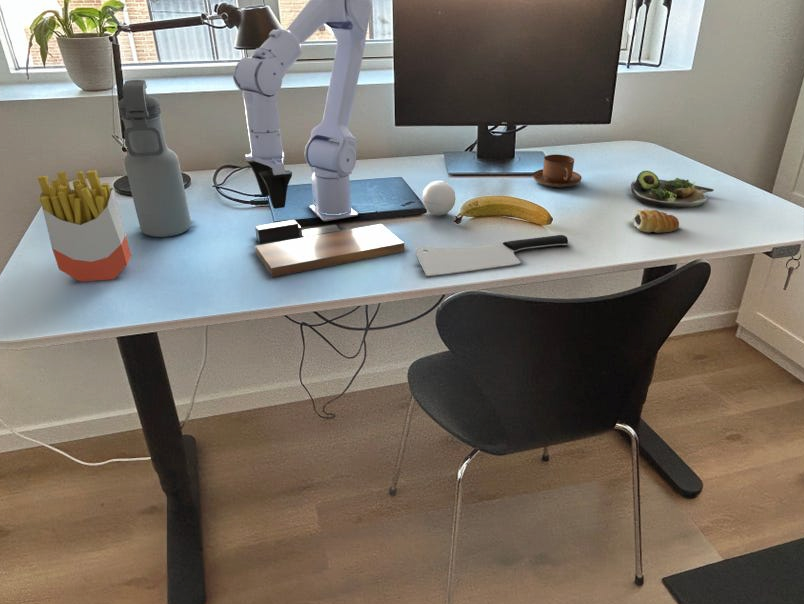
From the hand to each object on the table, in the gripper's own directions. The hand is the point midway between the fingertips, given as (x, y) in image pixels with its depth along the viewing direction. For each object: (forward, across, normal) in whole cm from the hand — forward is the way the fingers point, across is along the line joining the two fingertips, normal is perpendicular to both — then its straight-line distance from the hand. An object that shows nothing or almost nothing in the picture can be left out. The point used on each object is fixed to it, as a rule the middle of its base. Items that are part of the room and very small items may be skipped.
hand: (273, 201), depth 128 cm
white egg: (+8, +2, +34) cm, 35 cm away
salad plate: (+8, +15, +90) cm, 92 cm away
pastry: (+8, +29, +73) cm, 79 cm away
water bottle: (+8, -14, -19) cm, 25 cm away
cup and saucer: (+8, -4, +72) cm, 73 cm away
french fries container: (+8, +3, -33) cm, 34 cm away
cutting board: (+8, +12, +7) cm, 15 cm away
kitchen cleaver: (+8, +27, +35) cm, 45 cm away
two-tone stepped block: (+8, +1, +4) cm, 9 cm away
